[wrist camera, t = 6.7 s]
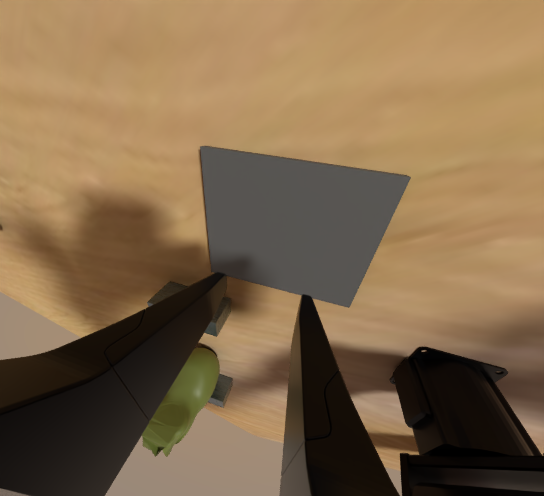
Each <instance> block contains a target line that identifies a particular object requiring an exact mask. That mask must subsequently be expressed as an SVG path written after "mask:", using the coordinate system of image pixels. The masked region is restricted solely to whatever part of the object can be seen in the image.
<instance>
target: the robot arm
mask: <svg viewBox="0 0 544 496" xmlns="http://www.w3.org/2000/svg"><path fill="white" fill-rule="evenodd" d="M226 288H227V276H226V274H225V273H221V272H216V273H214V274H212V275H210V276H209V277H207V278H205V279H203V280H201V281H199V282H197V283H195V284H193V285H191V286H189V287H187V288H185V289H183V290H181V291H179V292H177V293H175V294H173V295H171V296H169V297H167V298H165V299H163V300H161V301H159V302H157V303H155V304H153V305H151V306H149V307H147V308H146V309H143V310H141V311H139V312H138V313H136V314H134V315H131V316H129V317H127V318H125V319H123V320H121V321H119V322H117V323H115V324H112V325H110V326H108V327H106V328H103V329H101V330H99V331H96V332H94V333H92V334H89V335H87V336H85V337H82V338H80V339H78V340H76V341H73V342H71V343H68V344H66V345H64V346H61V347H59V348H56V349H54V350H51V351H48V352H45V353H41V354H37V355H33V356H27V357H20V358H12V359H5V360H0V496H105V494H106V493H107V491H108V489H109V488H110V486H111V485H112V483H113V481H114V479H115V478H116V476H117V475H118V473H119V471H120V470H121V468H122V466H123V465H124V463H125V462H126V460H127V458H128V457H129V455H130V453H131V452H132V450H133V449H134V447H135V445H136V444H137V442H138V440H139V439H140V437H141V435H142V434H143V432H144V430H145V429H146V427H147V426H148V424H149V421H150V420H151V419H152V417H153V416H154V414H155V412H156V411H157V409H158V407H159V406H160V404H161V402H162V401H163V399H164V397H165V396H166V394H167V393H168V391H169V389H170V388H171V386H172V384H173V383H174V381H175V379H176V378H177V376H178V375H179V373H180V371H181V370H182V368H183V366H184V365H185V363H186V361H187V360H188V358H189V357H190V355H191V353H192V352H193V350H194V348H195V347H196V345H197V343H198V342H199V340H200V339H201V337H202V335H203V334H204V332H205V330H206V329H207V327H208V325H209V324H210V322H211V320H212V319H213V317H214V315H215V313H216V311H217V308H218V306H219V304H220V302H221V300H222V298H223V296H224V293H225V291H226ZM422 350H427V352H421V351H422ZM496 371H502V372H501V373H496ZM507 374H508V371H507V370H506V369H504V368H501V367H498V366H494V365H491V364H487V363H483V362H480V361H476V360H472V359H469V358H465V357H461V356H458V355H454V354H451V353H447V352H443V351H440V350H436V349H432V348H429V347H419V348H418V349H417V350H416V351H415V352H414V353H413V354H412V355H411V356H410V358H409V359H405V360H404V361H403V362H402V363H401V365H400V366H399V367H398V368H397V369H396V370H395V371H394V372H393V376H392V377H391V378H390V382H391V383H392V384H395V385H396V388H397V392H398V396H399V400H400V404H401V408H402V411H403V415H404V419H405V423H406V424H407V426H408V427H410V428H412V429H413V433H414V437H415V440H416V444H417V447H418V451H419V455H409V454H408V453H400V466H401V484H402V496H544V456H542V454H541V453H540V451H539V450H538V448H537V447H536V445H535V444H534V442H533V441H532V439H531V438H530V436H529V434H528V433H527V431H526V430H525V428H524V427H523V425H522V424H521V422H520V421H519V419H518V418H517V416H516V415H515V413H514V412H513V410H512V408H511V407H510V405H509V404H508V402H507V401H506V399H505V398H504V396H503V395H502V393H501V392H500V390H499V389H498V387H497V386H496V384H495V382H496V381H498V380H499V379H501V378H502V377H504V376H506V375H507ZM394 380H395V382H394ZM543 455H544V453H543ZM281 476H282V477H281V485H280V496H400V495H399V493H398V492H397V490H396V488H395V487H394V485H393V483H392V481H391V479H390V477H389V475H388V473H387V471H386V469H385V467H384V465H383V463H382V461H381V459H380V457H379V455H378V453H377V451H376V449H375V447H374V445H373V443H372V441H371V439H370V437H369V435H368V433H367V431H366V429H365V427H364V425H363V423H362V421H361V419H360V416H359V414H358V412H357V410H356V408H355V406H354V404H353V401H352V399H351V397H350V395H349V392H348V390H347V387H346V385H345V382H344V380H343V377H342V375H341V372H340V371H339V367H338V364H337V362H336V359H335V357H334V354H333V351H332V349H331V346H330V344H329V341H328V338H327V336H326V333H325V330H324V328H323V325H322V323H321V320H320V317H319V315H318V312H317V310H316V307H315V304H314V302H313V299H312V297H311V296H310V295H306V294H302V296H301V300H300V304H299V308H298V313H297V318H296V323H295V328H294V333H293V338H292V345H291V357H290V370H289V383H288V395H287V408H286V421H285V434H284V447H283V460H282V472H281Z"/></svg>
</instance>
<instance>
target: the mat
mask: <svg viewBox="0 0 544 496" xmlns="http://www.w3.org/2000/svg"><path fill="white" fill-rule="evenodd" d="M200 150H201V161H202V172H203V184H204V195H205V206H206V217H207V228H208V239H209V250H210V261H211V272H214V273H216V272H221V273H225V274H226V276H229V277H233V278H237V279H241V280H245V281H248V282H252V283H256V284H260V285H264V286H268V287H271V288H275V289H279V290H283V291H287V292H291V293H294V294H298V295H302V294H306V295H310V296H311V297H312V298H314V299H317V300H321V301H325V302H329V303H333V304H337V305H340V306H344V307H348V308H349V307H350V305H351V303H352V301H353V299H354V297H355V295H356V293H357V290H358V288H359V286H360V284H361V282H362V280H363V278H364V276H365V274H366V271H367V269H368V267H369V265H370V263H371V261H372V259H373V257H374V254H375V252H376V250H377V248H378V246H379V244H380V242H381V240H382V238H383V235H384V233H385V231H386V229H387V227H388V225H389V223H390V221H391V218H392V216H393V214H394V212H395V210H396V208H397V206H398V204H399V201H400V199H401V197H402V195H403V193H404V191H405V189H406V187H407V185H408V182H409V180H410V178H411V177H409V176H407V175H401V174H394V173H387V172H381V171H374V170H367V169H360V168H353V167H346V166H340V165H333V164H326V163H319V162H312V161H305V160H299V159H292V158H285V157H278V156H271V155H264V154H258V153H251V152H244V151H237V150H230V149H223V148H217V147H210V146H200Z"/></svg>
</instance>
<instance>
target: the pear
mask: <svg viewBox="0 0 544 496" xmlns="http://www.w3.org/2000/svg"><path fill="white" fill-rule="evenodd" d="M219 369H220V366H219V361H218V358H217V356H216V355H215V354H214V353H213V352H212V351H210V350H209V349H206V348H194V350H193V352H192V353H191V355H190V357H189V358H188V360H187V361H186V363H185V365H184V366H183V368H182V370H181V371H180V373H179V375H178V376H177V378H176V379H175V381H174V383H173V384H172V386H171V388H170V389H169V391H168V393H167V394H166V396H165V397H164V399H163V401H162V402H161V404H160V406H159V407H158V409H157V411H156V412H155V414H154V416H153V417H152V419H151V420H150V421H149V424H148V426H147V427H146V429H145V430H144V432H143V434H142V435H141V436H143V446H144V447H146V448H148V449H149V450H152V452H153V454H154V455H155V456H157V454H159V453H158V452H160V451H161V450H163V452H164V454H165V456H166V457H167V456H168V455H169V454H170V452H171V449H172V447H173V446H174V444H177V443H179V442H180V441H181V440H182V438H184V436H185V435H186V434H187V432H188V431H189V429H190V427H191V425H192V423H193V421H194V419H195V417H196V415H197V413H198V412H199V411H200V410H201V409H202V408H203V407H204V406H205V405H206V404H207V402H208V401H209V399H210V397H211V396H212V394H213V391H214V389H215V386H216V383H217V380H218V376H219Z"/></svg>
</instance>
